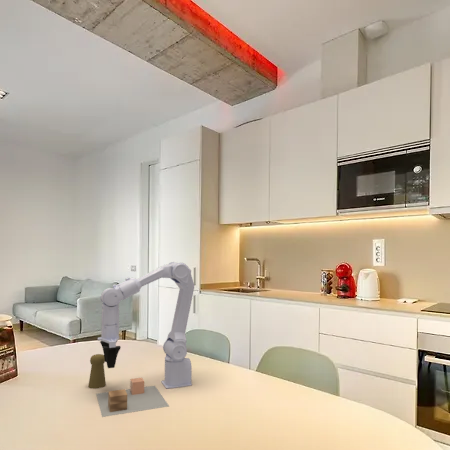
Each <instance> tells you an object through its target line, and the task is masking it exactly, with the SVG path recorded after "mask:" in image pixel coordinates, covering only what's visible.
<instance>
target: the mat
mask: <svg viewBox="0 0 450 450" xmlns="http://www.w3.org/2000/svg"><path fill="white" fill-rule="evenodd" d="M125 391H126V393H127V410H121V411H115V412H110V411H109V407H108V391H106V392H99V393H95V395H96V398H97V403H98V406H99V411H100V415H101V417H102V418H103V417H105V418H106V417H110V416H111V417H112V416H118V415H124V414H129V413H130V414H131V413H136V412H142V411H148V410H156V409H161V408H167V407H170V405H169V404H168V402H167V401H166V399H165V397H164V396H163V395H162V394H161V392H160V391H159V390H158V388H157V387H156V385H149V386H148V385H147V386H144V393H142V394H135V395H132V393H131V392H130V388H126V389H125Z"/></svg>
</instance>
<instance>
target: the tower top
mask: <svg viewBox="0 0 450 450" xmlns="http://www.w3.org/2000/svg"><path fill="white" fill-rule="evenodd" d="M125 390H126V389H125V388H124V389H117V390H111V391H110V390H108V391H107V392H108V399H109V402H110V405H111V404H118V403H124V402H127V393H126V391H125Z"/></svg>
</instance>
